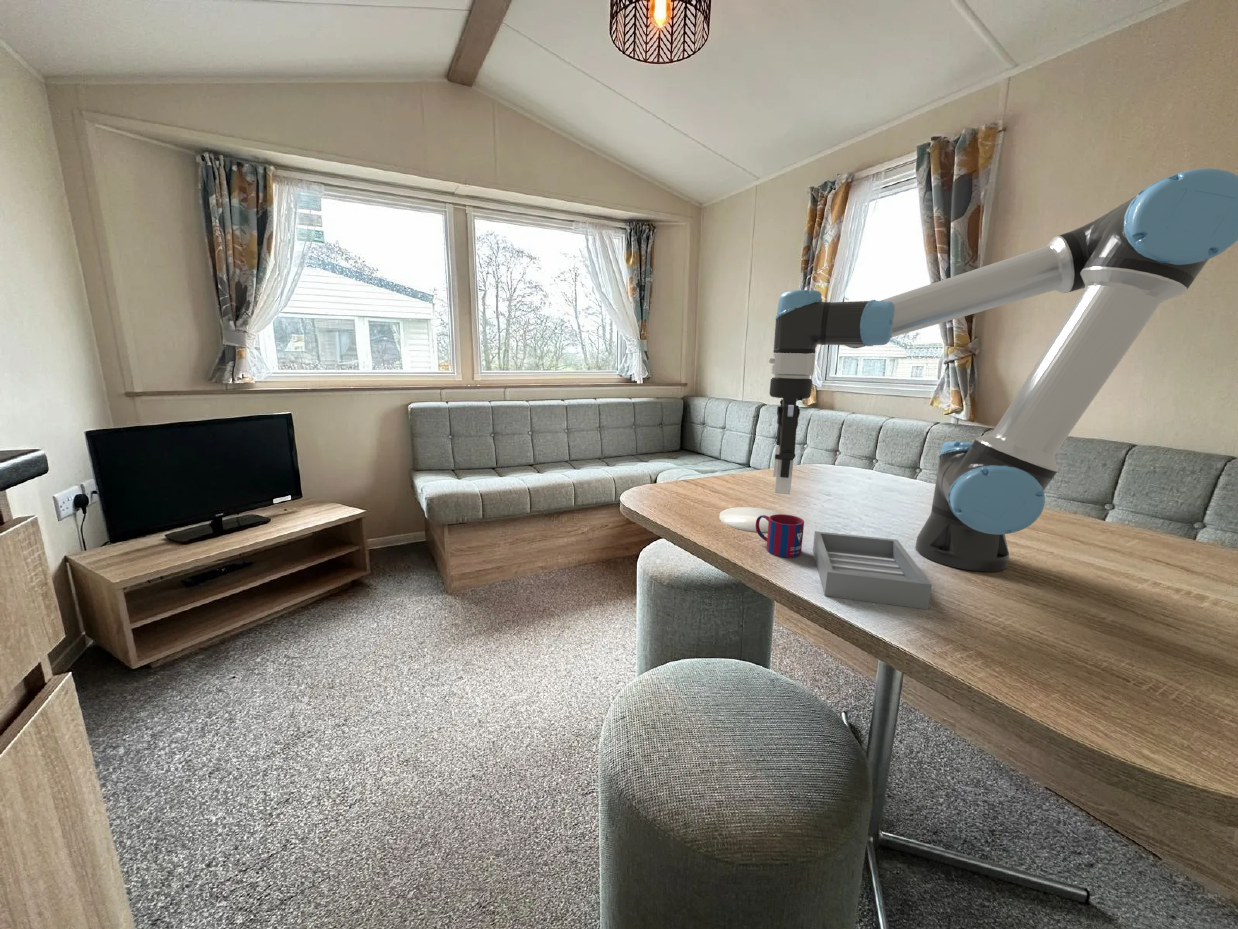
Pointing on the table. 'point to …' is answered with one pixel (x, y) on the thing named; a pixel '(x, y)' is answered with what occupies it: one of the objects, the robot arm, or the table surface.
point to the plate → (746, 518)
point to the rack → (869, 570)
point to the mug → (783, 535)
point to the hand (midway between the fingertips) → (780, 484)
